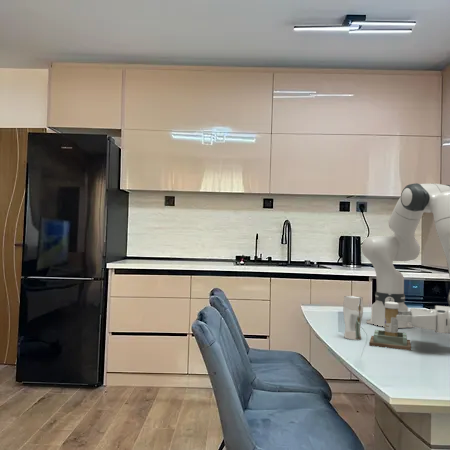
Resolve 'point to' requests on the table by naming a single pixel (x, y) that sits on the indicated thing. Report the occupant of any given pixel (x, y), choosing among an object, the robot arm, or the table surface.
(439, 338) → the table surface
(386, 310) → the sprinkles bottle
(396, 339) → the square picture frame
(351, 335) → the beer glass
